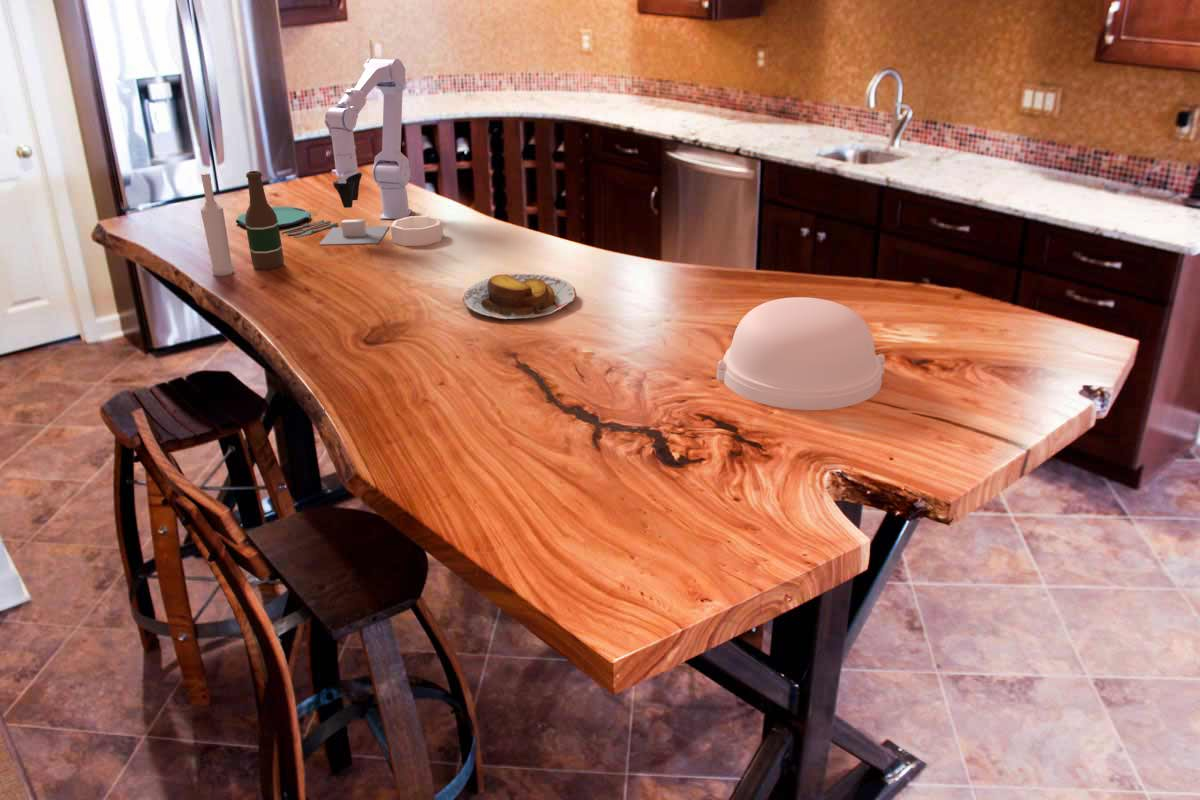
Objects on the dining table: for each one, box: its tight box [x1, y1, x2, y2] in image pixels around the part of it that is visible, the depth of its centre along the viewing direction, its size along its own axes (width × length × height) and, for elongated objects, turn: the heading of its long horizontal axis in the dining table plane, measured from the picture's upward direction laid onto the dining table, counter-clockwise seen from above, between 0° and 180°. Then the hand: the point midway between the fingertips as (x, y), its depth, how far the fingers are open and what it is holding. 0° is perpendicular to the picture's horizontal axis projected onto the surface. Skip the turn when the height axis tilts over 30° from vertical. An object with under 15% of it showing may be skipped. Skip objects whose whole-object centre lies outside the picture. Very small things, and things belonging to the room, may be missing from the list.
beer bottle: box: [245, 170, 285, 271], centre depth 264 cm, size 8×8×24 cm
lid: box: [318, 218, 390, 246], centre depth 291 cm, size 16×16×5 cm
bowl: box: [390, 215, 444, 247], centre depth 287 cm, size 13×13×4 cm
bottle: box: [200, 172, 234, 277], centre depth 259 cm, size 5×5×25 cm
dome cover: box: [716, 296, 886, 411], centre depth 197 cm, size 32×30×14 cm
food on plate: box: [462, 273, 577, 320], centre depth 238 cm, size 25×25×7 cm
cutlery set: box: [235, 206, 339, 239], centre depth 304 cm, size 20×30×2 cm, turn 50°
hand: (350, 203), depth 288 cm, fingers open, 7 cm apart
